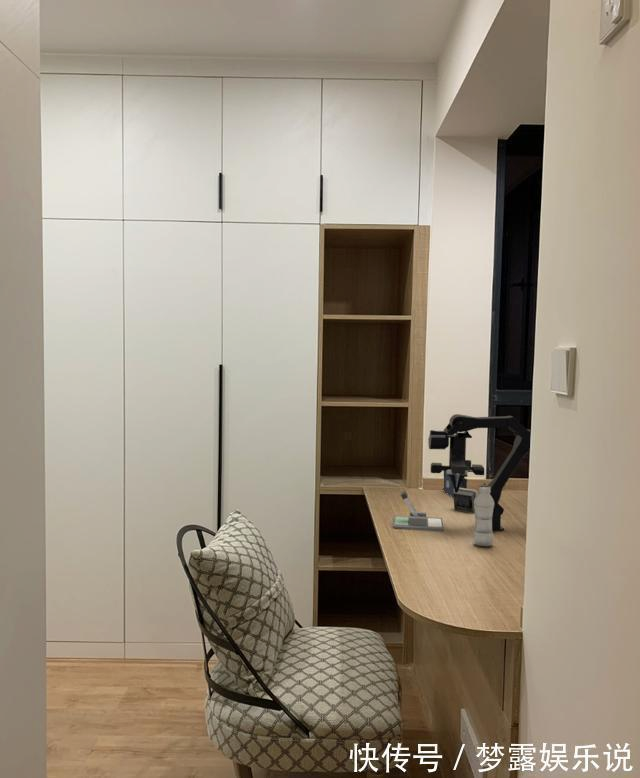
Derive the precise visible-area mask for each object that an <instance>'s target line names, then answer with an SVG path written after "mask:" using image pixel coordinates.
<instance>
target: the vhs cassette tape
mask: <svg viewBox="0 0 640 778" xmlns="http://www.w3.org/2000/svg"><path fill="white" fill-rule="evenodd" d="M443 476H444V477H443V478H444V488H443V487H442V491H443V490H444V491H445V492H446V493H448V494H449V495H448V494H447V495H448V496H450V495H451V496H452V498H453V493H454V486H453V483H452V480H451V478H450V476H447V474H446V471H443ZM443 478H442V479H443ZM457 478H458V474H455V479H456V486H457ZM467 484H468V479H467V478H466V477H464V479H463V480H462V482H461V485H460V487H459V488H465V489H468V486H467ZM446 493H445V494H446ZM451 496H450V497H451Z"/></svg>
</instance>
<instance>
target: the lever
mask: <svg viewBox="0 0 640 778" xmlns="http://www.w3.org/2000/svg"><path fill="white" fill-rule="evenodd" d="M400 496H401V498H402V500H404V502H405V503H406V504H407V507H408V508H409V510H410V511H411V512H412V514H413V515H414V516H415V517H420V516H419V515H418V513H417V512H418V511H417V510H416V508H415V506H414V504H413V502H412V501H411V499H410V498H409V494H408V492H407V491H406V490H404V491H401V492H400Z"/></svg>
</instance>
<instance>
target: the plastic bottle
mask: <svg viewBox="0 0 640 778" xmlns="http://www.w3.org/2000/svg"><path fill="white" fill-rule="evenodd" d="M490 489H491V487H490V486H488V484H486V485H483V484H482V485H481V484H480V485H478V490H477V492H478V491H479V493H477V496H476V498H475V500H474V508H475V511H474V517H475V520H474V530H473V534H472V540H473V541H472V542H473V543H474V544H475V545H476V546H479V547H491V546H492V544H493V543H494V532H493V531H492V514H493V508H494V500H493V498H492V496H491V495H490V492H491V490H490Z"/></svg>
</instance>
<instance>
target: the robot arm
mask: <svg viewBox="0 0 640 778" xmlns="http://www.w3.org/2000/svg"><path fill="white" fill-rule="evenodd" d="M493 428H494V429H499V428H501V429H502V428H506V429H507V428H508V429H509V430H510V431H511V432H512V433H513V434H514V435H515V439H514V441H513V447H512V449H511V451H510V453H509V454H508V455H507V457H506V459H505V460H504V461H503V463H502V465H501V466H500V468H499V469H498V471H497V473H495V475H494V477H493V478H492V479H491V482H489V483H488V484H486V483H485V482H484V483H483V484H482V485H488V486H490V487H491V489H490V490H491V492H490V495H491V496H492V498H493V500H494V508H493V514H492V532H493V531H504V530H505V528H504V527H502V526H501V523H502V522H501V521H502V515H503V513H504V511H505V509H504V508H503V507H502V506H501V504H499V503H500V500H501V496H502V492H503V491H502V490H504V487H505V485H506V484H507V483H508V481H509V480H510V478H511V476H512V475H513V474H514V472H515V470H516V468H517V467H518V465H519V463H520V462H521V461H522V459H523V457H524V456H526V455H527V454H528V453H530V452H529V448H530V431H531V430H530V429H528V428H527V427H525V426H524V425H523V424H522V423H521V422H520V421H519V420H518V419H517V418H516V417H514V416H512V415H506V416H470V415H464V414H459V413H456V414H452V416H451V417H450V418H449V421H448V424H447V425H446V426H445V428H444V429H443V430H434V429H432V430H431V429H430V430H429V435H428V439H427V440H428V449H429V450H446V449H447V448H448V447H449V453H448V454H449V455H448V456H449V457H448V465H443V464H442V463H441V462H431V463H430V473H431V474H441V473H442V472H444V471H446V474H447V476H450V478H451V480H452V483H453V486H454V490H455V493H457V492H458V490H459V487H460V485H461V482H462V480H463V479H464V478H467V477H469V474H468V473H473V474H474V475H475V476H485V468H484V466H483V465H482V464H474V463H473V464H472V459H471V460H469V459H466V453H467V439H472V438H473V436H472V435H471V434H470V433H469V431H472V430H476V429H493ZM455 474H458V478H457V486H456V479H455ZM477 494H479V491H478V490H477Z"/></svg>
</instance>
